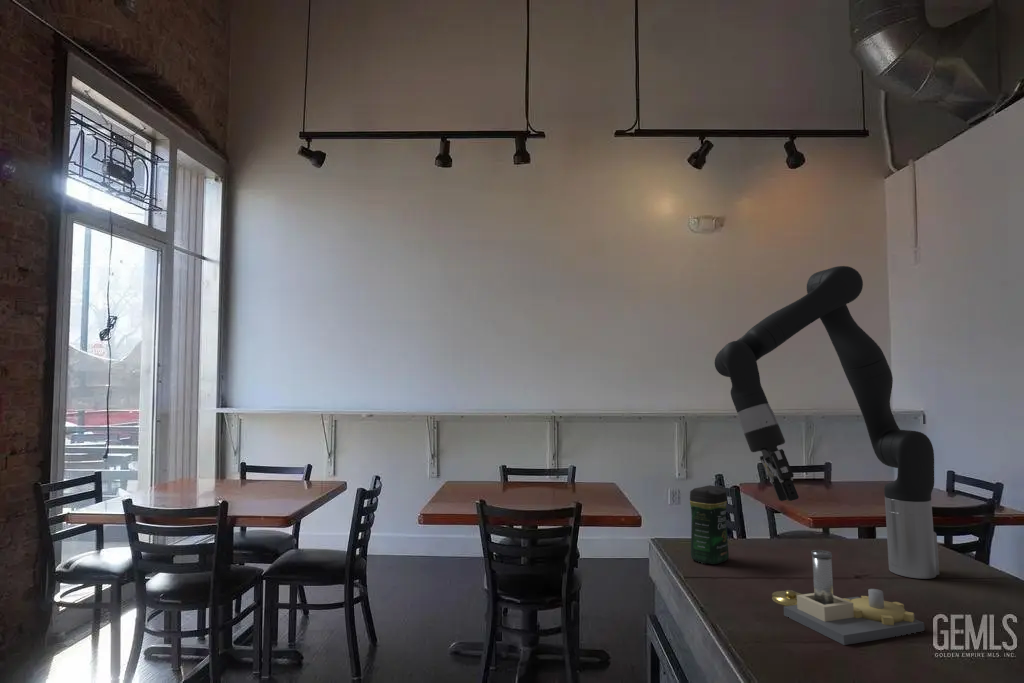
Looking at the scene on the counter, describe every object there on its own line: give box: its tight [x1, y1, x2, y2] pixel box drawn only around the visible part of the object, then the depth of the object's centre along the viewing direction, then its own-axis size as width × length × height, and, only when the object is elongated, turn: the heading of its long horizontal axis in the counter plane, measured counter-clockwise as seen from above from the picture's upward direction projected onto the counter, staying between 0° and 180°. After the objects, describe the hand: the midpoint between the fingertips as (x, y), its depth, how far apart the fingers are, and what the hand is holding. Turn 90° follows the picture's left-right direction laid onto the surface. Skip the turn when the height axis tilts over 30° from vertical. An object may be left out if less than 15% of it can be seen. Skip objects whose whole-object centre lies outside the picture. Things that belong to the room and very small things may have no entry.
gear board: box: [783, 588, 925, 646], centre depth 110 cm, size 20×14×6 cm
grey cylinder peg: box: [810, 549, 835, 605], centre depth 111 cm, size 3×3×11 cm
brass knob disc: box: [771, 589, 803, 607], centre depth 121 cm, size 7×7×2 cm
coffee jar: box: [689, 485, 730, 565], centre depth 151 cm, size 10×8×19 cm
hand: (789, 500), depth 127 cm, fingers open, 8 cm apart
